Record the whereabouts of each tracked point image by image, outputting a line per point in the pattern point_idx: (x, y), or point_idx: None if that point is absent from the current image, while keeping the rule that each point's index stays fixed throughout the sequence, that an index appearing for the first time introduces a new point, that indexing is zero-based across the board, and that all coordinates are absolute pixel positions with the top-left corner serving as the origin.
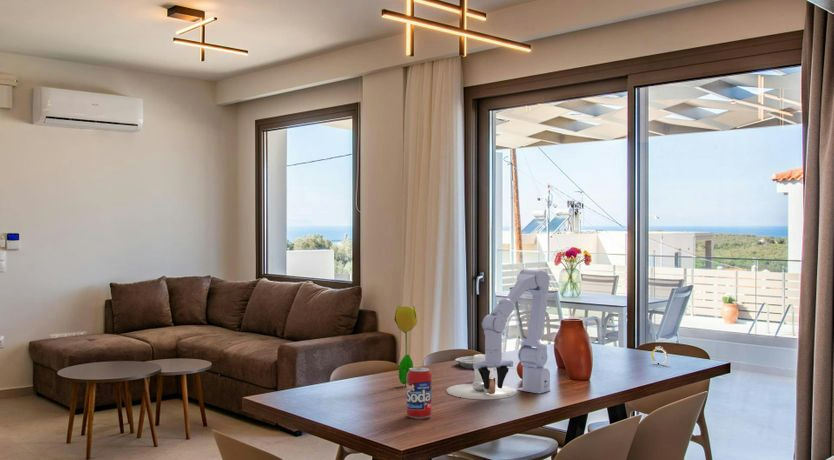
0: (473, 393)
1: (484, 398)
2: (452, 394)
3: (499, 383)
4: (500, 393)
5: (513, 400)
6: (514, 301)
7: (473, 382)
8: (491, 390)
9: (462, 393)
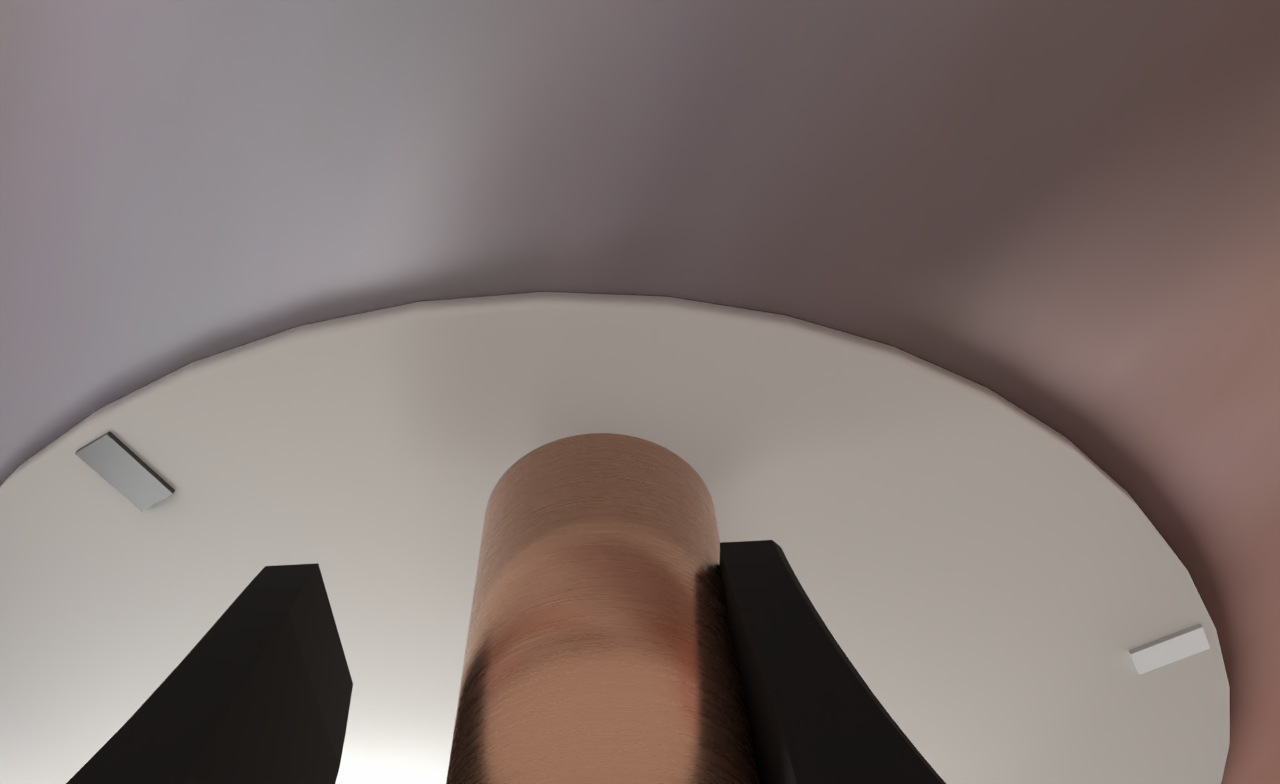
0: None
1: (841, 340)
2: (1222, 755)
3: (289, 726)
4: None
5: (62, 33)
6: None
7: None
8: (638, 489)
9: (1029, 766)
